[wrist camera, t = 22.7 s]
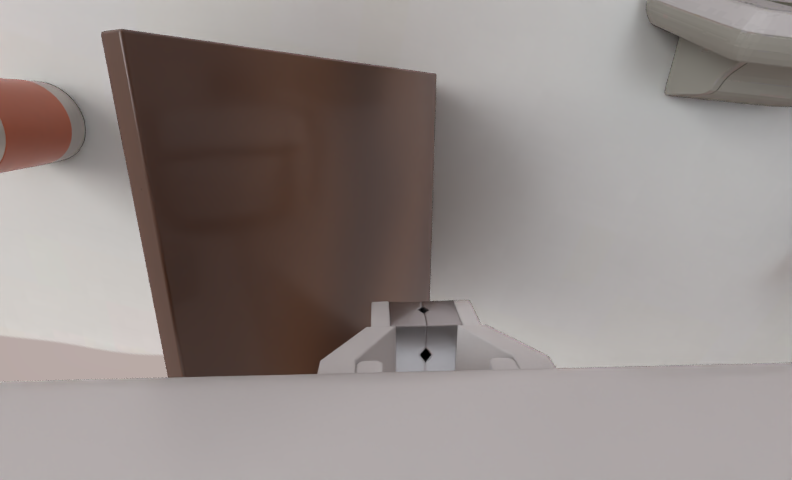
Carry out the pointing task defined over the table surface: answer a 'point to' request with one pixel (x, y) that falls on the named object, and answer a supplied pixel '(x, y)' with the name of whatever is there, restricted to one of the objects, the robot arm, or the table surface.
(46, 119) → the can
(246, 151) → the lid
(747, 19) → the digital clock
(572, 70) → the table surface
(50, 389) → the robot arm
